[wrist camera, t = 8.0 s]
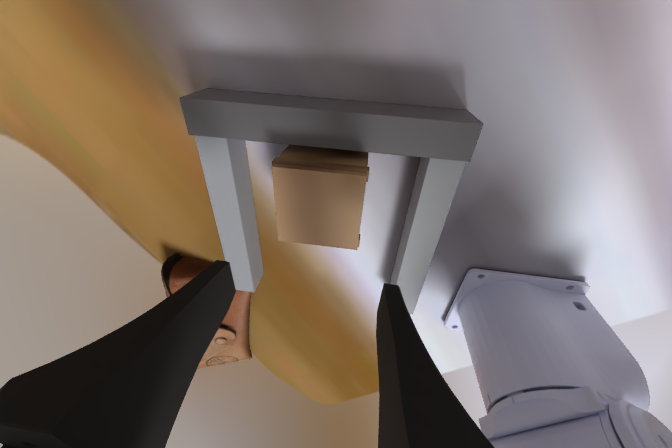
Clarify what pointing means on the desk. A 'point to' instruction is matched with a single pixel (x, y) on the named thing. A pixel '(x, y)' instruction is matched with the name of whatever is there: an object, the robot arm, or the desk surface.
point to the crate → (320, 195)
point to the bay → (336, 133)
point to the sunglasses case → (235, 326)
